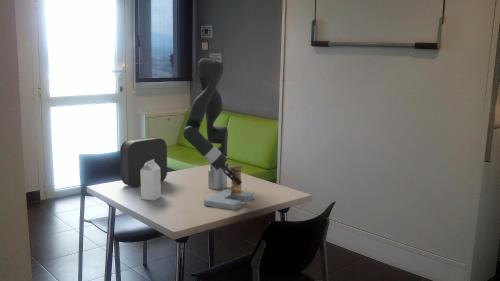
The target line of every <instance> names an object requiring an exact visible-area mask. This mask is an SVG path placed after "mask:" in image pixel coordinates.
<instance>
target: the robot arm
mask: <svg viewBox="0 0 500 281" xmlns="http://www.w3.org/2000/svg"><path fill="white" fill-rule="evenodd" d="M197 74H198V79H199V83H200V86H201V93H200V94H198V95H197V96H196V97H195V99H194V100H193V102H192V104H191V107H190V110H189V113H188V118H187V121H186V122H185V123H186V124H185V126H184V129H183V131H182V134H183V138H184V139H185V140H186V141H187V143H189V144H190V145H191V146H192V147H194V148H195V149H196V151H197V152H198V153H199V154H200V155H201V156H202V157H203V158H204V159H205V160H206V162H208V163H209V170H207V171H208V173H207V174H208V179H207V180H208V188H210V189H212V190H225V189H227V188H228V178H229V179H230V180H231V181H232V180H234V181H235V182H236V183H237V184H238V185H240V184H241V185H242V183H243V182H242V179H241V180H240V179H238V178H237V176H236V175H235V174H234V172H233V170H232V169H231V165H230V164H229V163H228V142H229V140H228V139H229V130H228V127H227V126H225V125H223V126H222V125H221V126H218V125H214V123H215V122H216V120H217V119H218V118H219V117H220V115H221V113H223V112H222V111H223V99H222V95H221V94H220V92H219V90H218V89H217V86H218V85H219V83H220V81H221V78H222V76H223V74H224V64H223V62H221V61H218V60H215V59H212V58H209V57H208V58H207V57H203V58H201V59H200V60H199V61H198V65H197ZM204 118H205V122H206V123H205V124H206V138H205V136H203V134H202V133H201V132H200V128H201V125H202V122H203V121H204ZM214 144H220V146H219V147H216V146H215V145H214ZM232 175H233V177H232Z"/></svg>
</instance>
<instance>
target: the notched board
mask: <svg viewBox="0 0 500 281" xmlns="http://www.w3.org/2000/svg"><path fill="white" fill-rule="evenodd" d="M230 191H231V189H227V188H225V189H222V190H220V191H219V192H217V193H214V194H213V195H211V196H209V197H207V198H205V199H204V200H203V205H204V206H207V207H212V208H220V209H225V210H226V209H227V210H231V211H236V210H237V209H239V208H240V207H241V206H242V202H250V201H251V200H253V199H254V198H255V193H254V192H252V191H251V192H250V191H249V192H248V191H244V190H241V191H242V194H239V195H234V194H231V193H230Z"/></svg>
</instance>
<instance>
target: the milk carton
mask: <svg viewBox="0 0 500 281" xmlns="http://www.w3.org/2000/svg"><path fill="white" fill-rule="evenodd" d="M140 173H141V187H140V199H141V200H147V201H156V200H159V199H160V198H161V196H162V188H161V186H162V182H161V174H160V167H159V166H158V165H157V164H156V163H155V162H154V159H153V160H151V161H148V162H146V163H145V164H144V167H143V168H142V169H141V170H140Z"/></svg>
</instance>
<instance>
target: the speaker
mask: <svg viewBox="0 0 500 281" xmlns="http://www.w3.org/2000/svg"><path fill="white" fill-rule="evenodd" d="M167 149H168V146H167V143H166V141H165V140H164V138H158V137H155V136H150V137H149V136H148V137H140V138H132V139H127V140H125V141H124V142H123V143H122V144H121V146H120V149H119V150H120V152H119V154H120V156H119V158H120V179H121V182H122V183H123V184H125V185H127V186H131V187H132V188H141V173H140V170H141V169H142V168H143V167H144V164H145V163H146V162H148V161H151V160H153V159H154V162H155V163H156V164H157V165H158V166H159V167H160V174H161V183H162V182H164V181H165V179H166V178H167V176H168V150H167Z"/></svg>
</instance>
